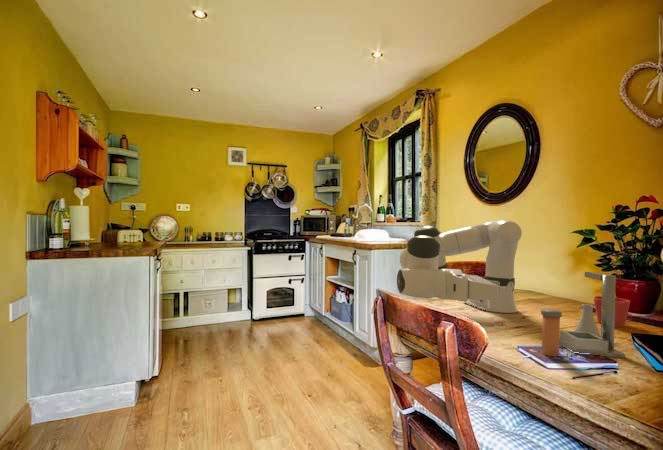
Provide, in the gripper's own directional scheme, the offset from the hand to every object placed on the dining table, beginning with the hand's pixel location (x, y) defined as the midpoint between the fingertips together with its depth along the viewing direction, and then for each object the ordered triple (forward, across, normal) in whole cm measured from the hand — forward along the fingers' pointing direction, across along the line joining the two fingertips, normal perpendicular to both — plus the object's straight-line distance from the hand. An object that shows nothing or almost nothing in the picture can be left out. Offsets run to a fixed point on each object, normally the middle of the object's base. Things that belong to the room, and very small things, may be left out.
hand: (504, 287), depth 96 cm
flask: (+35, -23, -18) cm, 46 cm away
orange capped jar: (+12, 0, -18) cm, 22 cm away
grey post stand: (+26, -10, -18) cm, 33 cm away
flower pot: (+52, -41, -18) cm, 69 cm away
